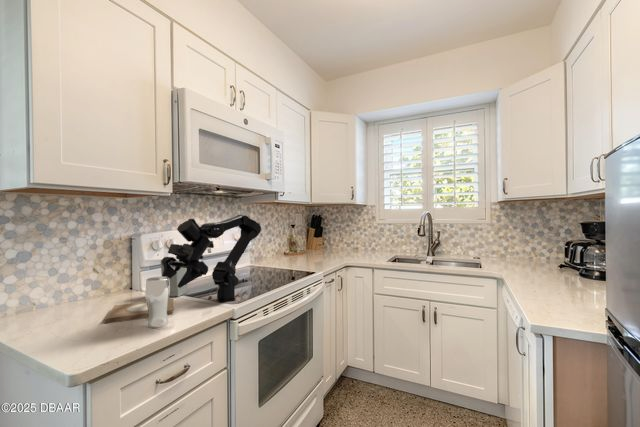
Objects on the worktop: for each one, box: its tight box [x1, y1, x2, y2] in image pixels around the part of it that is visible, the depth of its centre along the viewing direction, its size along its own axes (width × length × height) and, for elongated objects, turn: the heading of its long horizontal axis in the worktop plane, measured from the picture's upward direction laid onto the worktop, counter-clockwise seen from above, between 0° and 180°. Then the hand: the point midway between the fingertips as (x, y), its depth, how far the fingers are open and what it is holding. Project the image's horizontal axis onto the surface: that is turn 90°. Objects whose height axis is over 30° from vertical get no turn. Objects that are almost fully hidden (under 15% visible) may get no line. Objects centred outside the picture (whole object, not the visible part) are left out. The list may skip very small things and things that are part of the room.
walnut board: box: [104, 298, 175, 324], centre depth 106 cm, size 20×16×2 cm
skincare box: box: [160, 258, 188, 297], centre depth 129 cm, size 8×7×16 cm
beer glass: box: [144, 275, 171, 329], centre depth 94 cm, size 7×7×15 cm
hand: (169, 285), depth 97 cm, fingers open, 9 cm apart
